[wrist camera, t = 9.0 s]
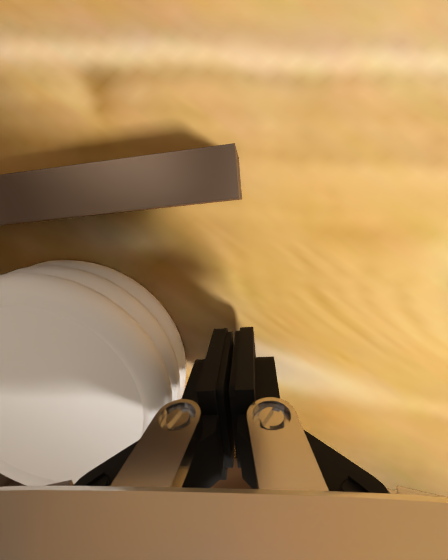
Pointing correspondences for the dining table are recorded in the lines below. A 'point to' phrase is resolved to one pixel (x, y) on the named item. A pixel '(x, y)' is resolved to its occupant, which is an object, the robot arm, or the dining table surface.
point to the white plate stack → (79, 368)
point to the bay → (124, 199)
